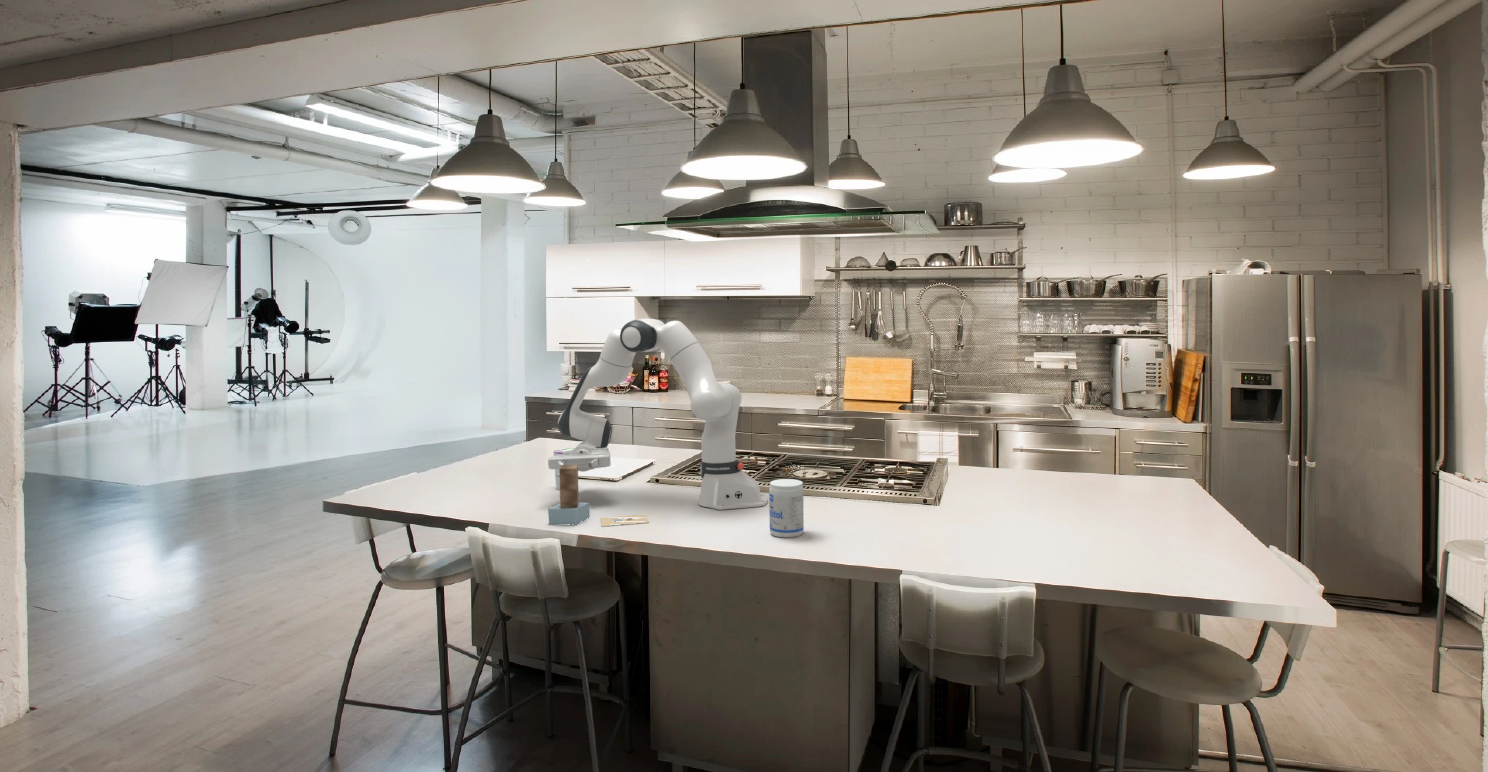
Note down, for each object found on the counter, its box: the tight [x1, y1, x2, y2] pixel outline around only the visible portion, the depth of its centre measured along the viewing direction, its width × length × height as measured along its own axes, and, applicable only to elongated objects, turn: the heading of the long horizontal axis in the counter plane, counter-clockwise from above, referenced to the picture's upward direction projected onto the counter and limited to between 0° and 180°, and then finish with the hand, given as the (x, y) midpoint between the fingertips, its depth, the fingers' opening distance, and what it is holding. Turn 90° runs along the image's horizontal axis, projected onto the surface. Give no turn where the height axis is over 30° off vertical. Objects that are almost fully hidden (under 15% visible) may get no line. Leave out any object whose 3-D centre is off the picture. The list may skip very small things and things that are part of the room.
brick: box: [547, 501, 590, 526], centre depth 244 cm, size 9×9×5 cm
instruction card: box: [600, 514, 650, 527], centre depth 243 cm, size 14×10×1 cm
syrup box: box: [553, 447, 575, 491], centre depth 289 cm, size 6×6×14 cm
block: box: [559, 465, 580, 508], centre depth 243 cm, size 5×5×12 cm
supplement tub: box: [768, 478, 805, 539], centre depth 223 cm, size 10×10×15 cm
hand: (575, 465), depth 255 cm, fingers open, 8 cm apart
